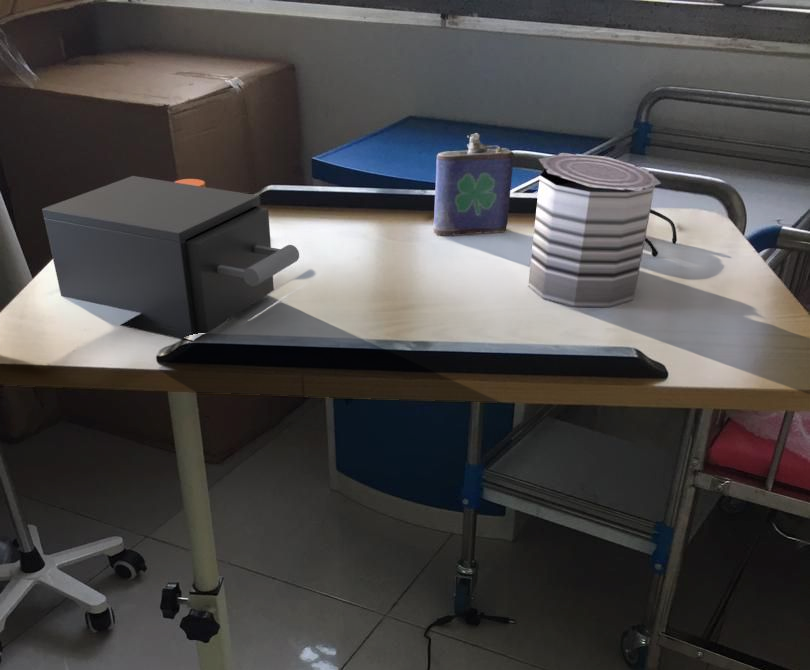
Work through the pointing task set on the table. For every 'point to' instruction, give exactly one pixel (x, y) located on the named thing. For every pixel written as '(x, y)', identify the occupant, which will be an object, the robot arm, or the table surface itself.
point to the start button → (192, 182)
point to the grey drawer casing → (137, 247)
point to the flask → (472, 189)
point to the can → (589, 229)
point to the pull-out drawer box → (233, 266)
